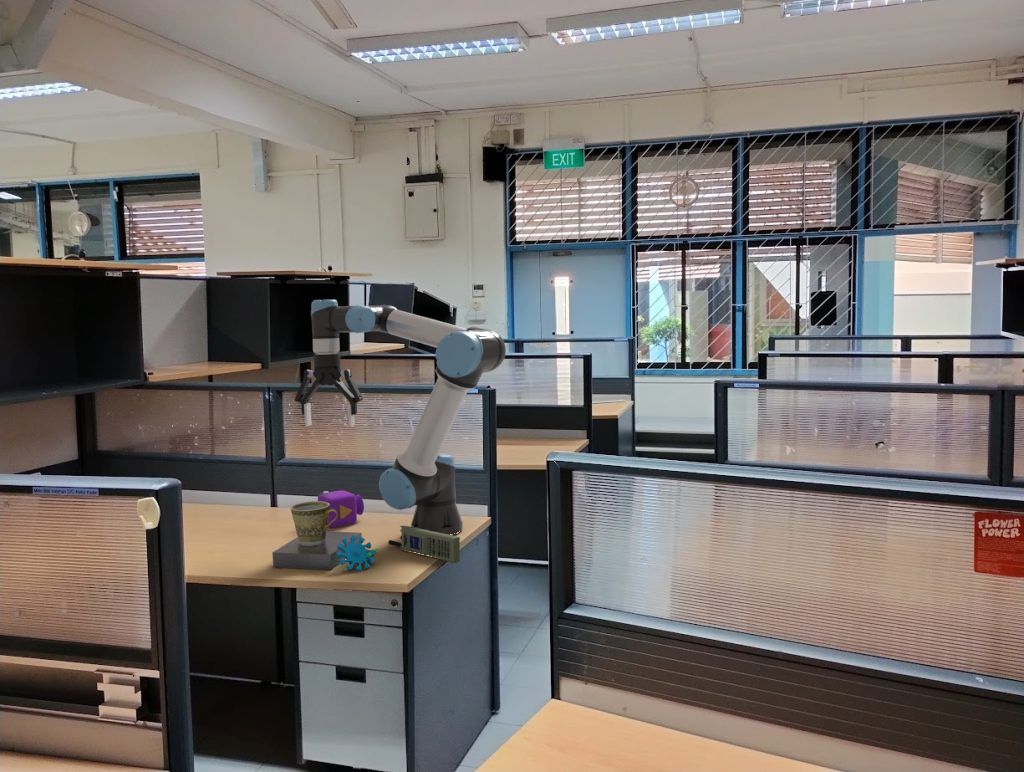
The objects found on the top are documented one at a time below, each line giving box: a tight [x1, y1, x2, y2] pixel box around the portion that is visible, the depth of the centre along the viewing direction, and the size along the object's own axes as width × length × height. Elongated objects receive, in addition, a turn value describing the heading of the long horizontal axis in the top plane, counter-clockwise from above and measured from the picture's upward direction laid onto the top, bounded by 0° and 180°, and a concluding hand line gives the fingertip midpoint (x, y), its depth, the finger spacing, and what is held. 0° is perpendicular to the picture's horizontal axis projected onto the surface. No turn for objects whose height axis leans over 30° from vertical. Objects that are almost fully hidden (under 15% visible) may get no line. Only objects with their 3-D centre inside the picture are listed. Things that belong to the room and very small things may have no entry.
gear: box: [336, 536, 380, 572], centre depth 205 cm, size 11×6×10 cm
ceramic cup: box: [290, 500, 338, 546], centre depth 212 cm, size 13×10×10 cm
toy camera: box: [317, 490, 365, 529], centre depth 247 cm, size 11×14×10 cm
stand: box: [272, 530, 363, 571], centre depth 213 cm, size 16×20×4 cm
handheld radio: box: [387, 525, 461, 564], centre depth 213 cm, size 7×3×25 cm
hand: (329, 425), depth 234 cm, fingers open, 13 cm apart
